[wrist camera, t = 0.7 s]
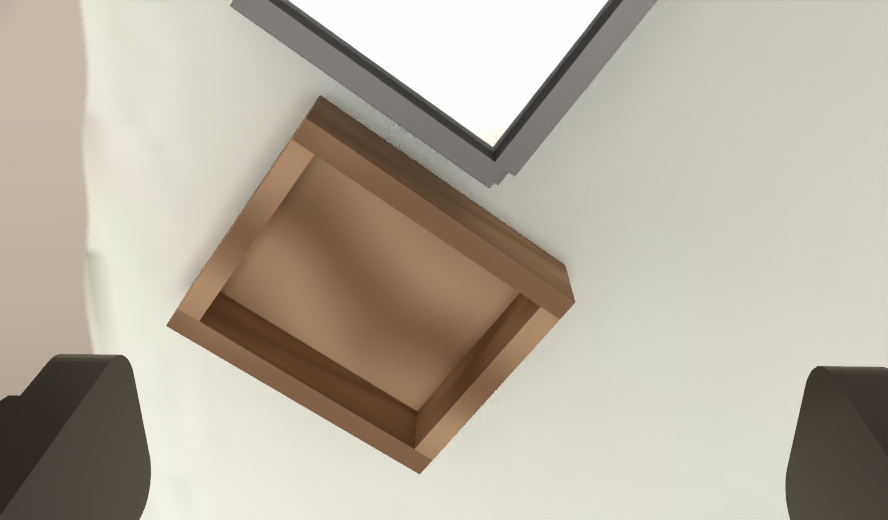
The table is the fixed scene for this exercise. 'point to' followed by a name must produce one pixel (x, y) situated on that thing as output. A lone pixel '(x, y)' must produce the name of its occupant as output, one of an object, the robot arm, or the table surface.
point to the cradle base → (427, 122)
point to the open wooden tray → (372, 291)
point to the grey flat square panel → (463, 49)
